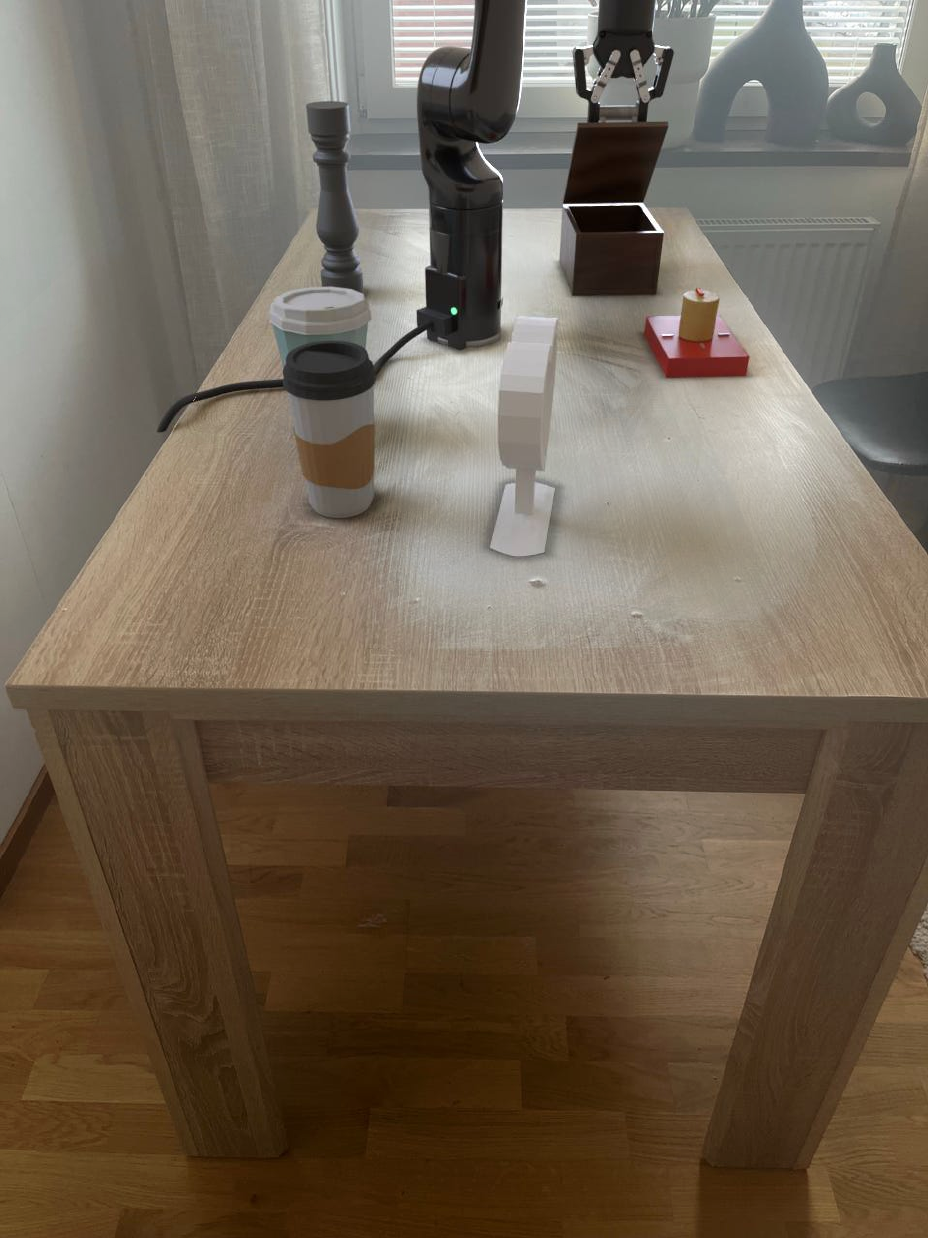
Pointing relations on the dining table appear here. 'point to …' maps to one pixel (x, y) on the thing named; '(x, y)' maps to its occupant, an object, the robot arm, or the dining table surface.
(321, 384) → the coffee cup
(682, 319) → the valve knob
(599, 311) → the dining table surface
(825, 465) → the dining table surface
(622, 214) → the dark wooden box
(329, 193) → the candle holder
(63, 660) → the dining table surface
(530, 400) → the heart sculpture
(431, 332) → the robot arm
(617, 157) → the box lid
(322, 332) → the disposable coffee cup
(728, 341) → the panel
